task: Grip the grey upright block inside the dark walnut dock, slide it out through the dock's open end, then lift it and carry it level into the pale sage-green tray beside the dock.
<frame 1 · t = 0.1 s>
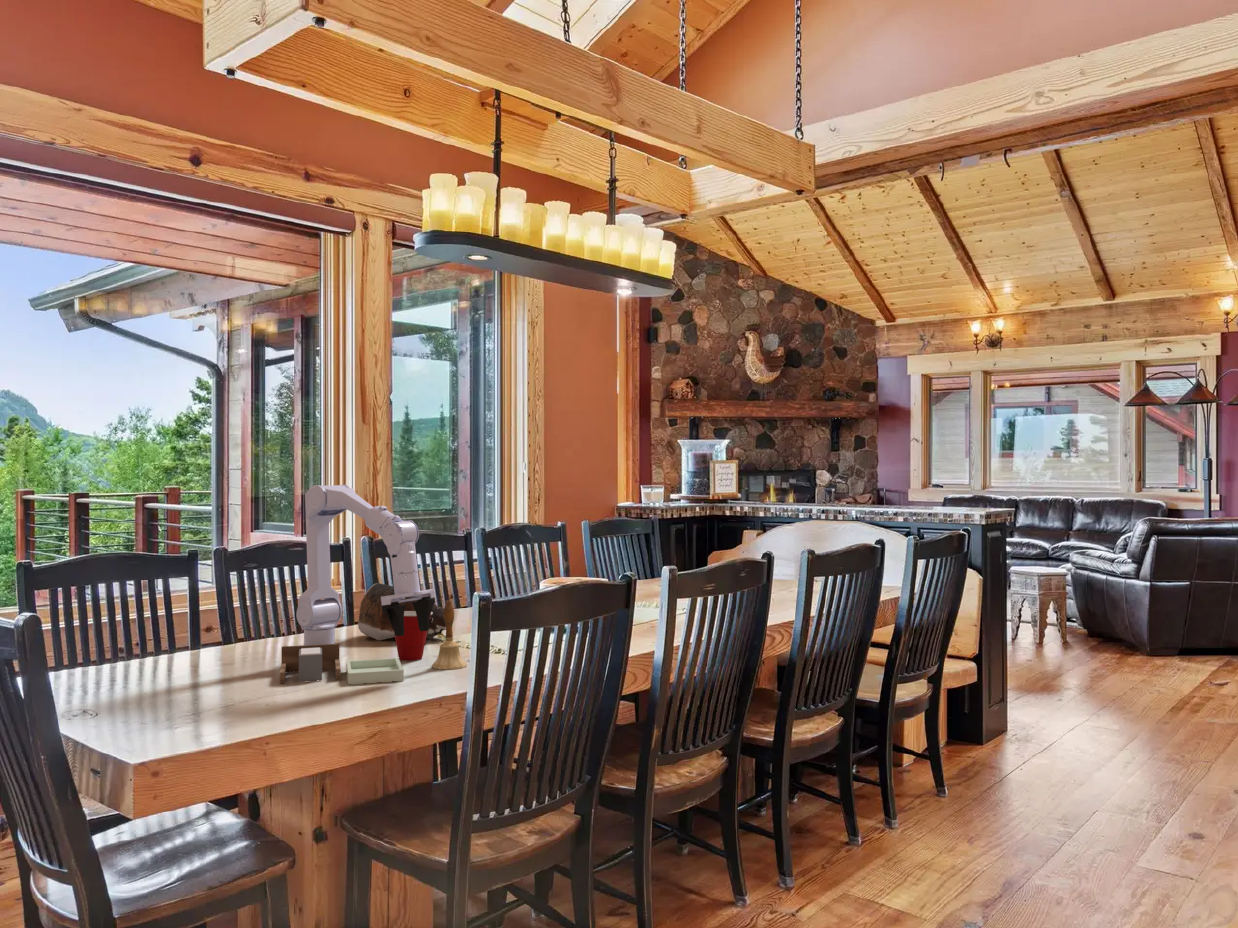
hand: (412, 633, 216), 11 cm above the table, tool pointing down, fingers open, 7 cm apart
clay pot: (408, 639, 267), on the table
plastic cup: (410, 659, 239), on the table
dock: (310, 676, 219), on the table
tray: (374, 676, 219), on the table
grey upright block: (310, 677, 218), on the table
hand bell: (449, 667, 230), on the table
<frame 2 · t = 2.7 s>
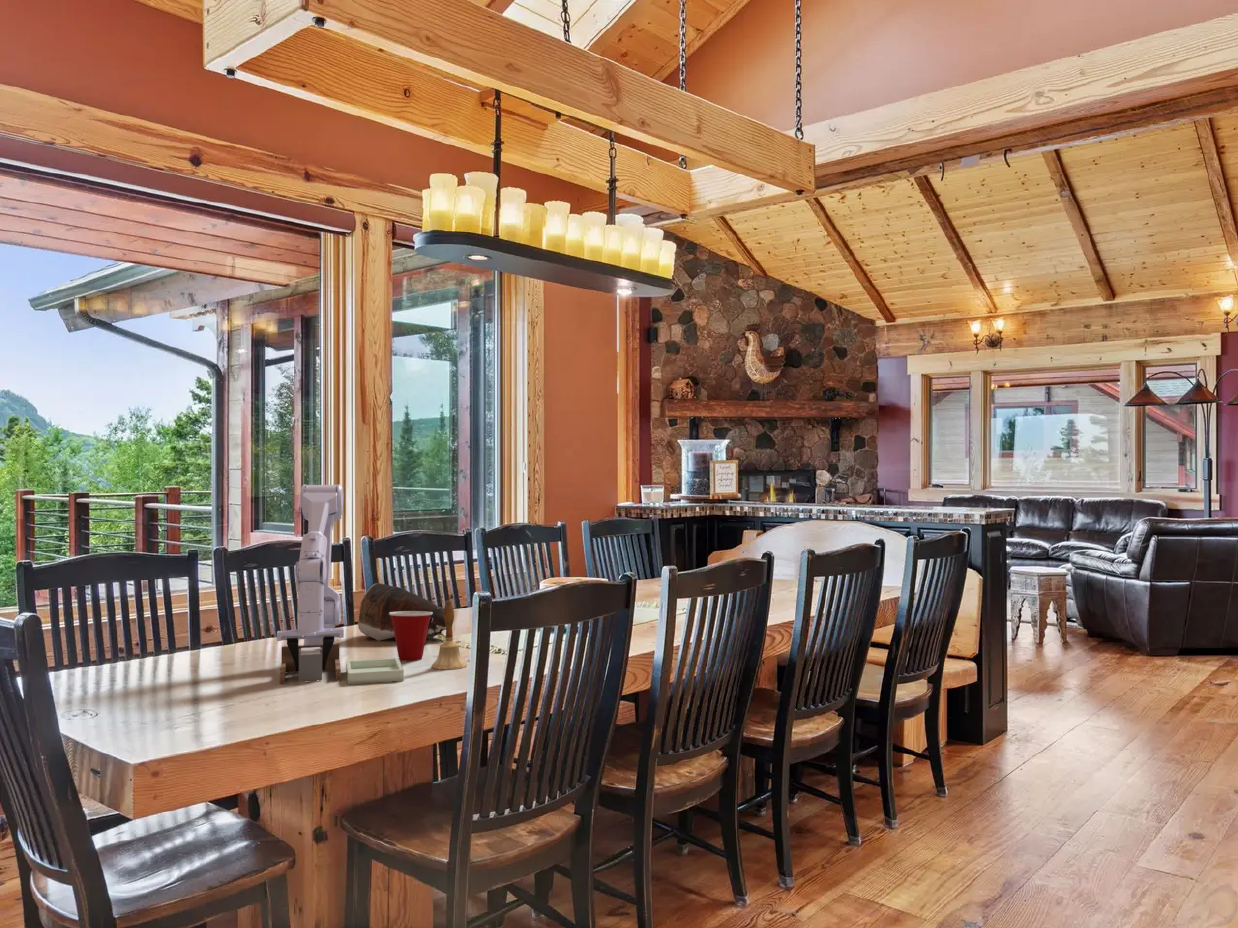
hand: (310, 670, 218), 2 cm above the table, tool pointing down, fingers closed on grey upright block, 5 cm apart
grey upright block: (310, 677, 218), on the table, touching gripper
everything else where it was.
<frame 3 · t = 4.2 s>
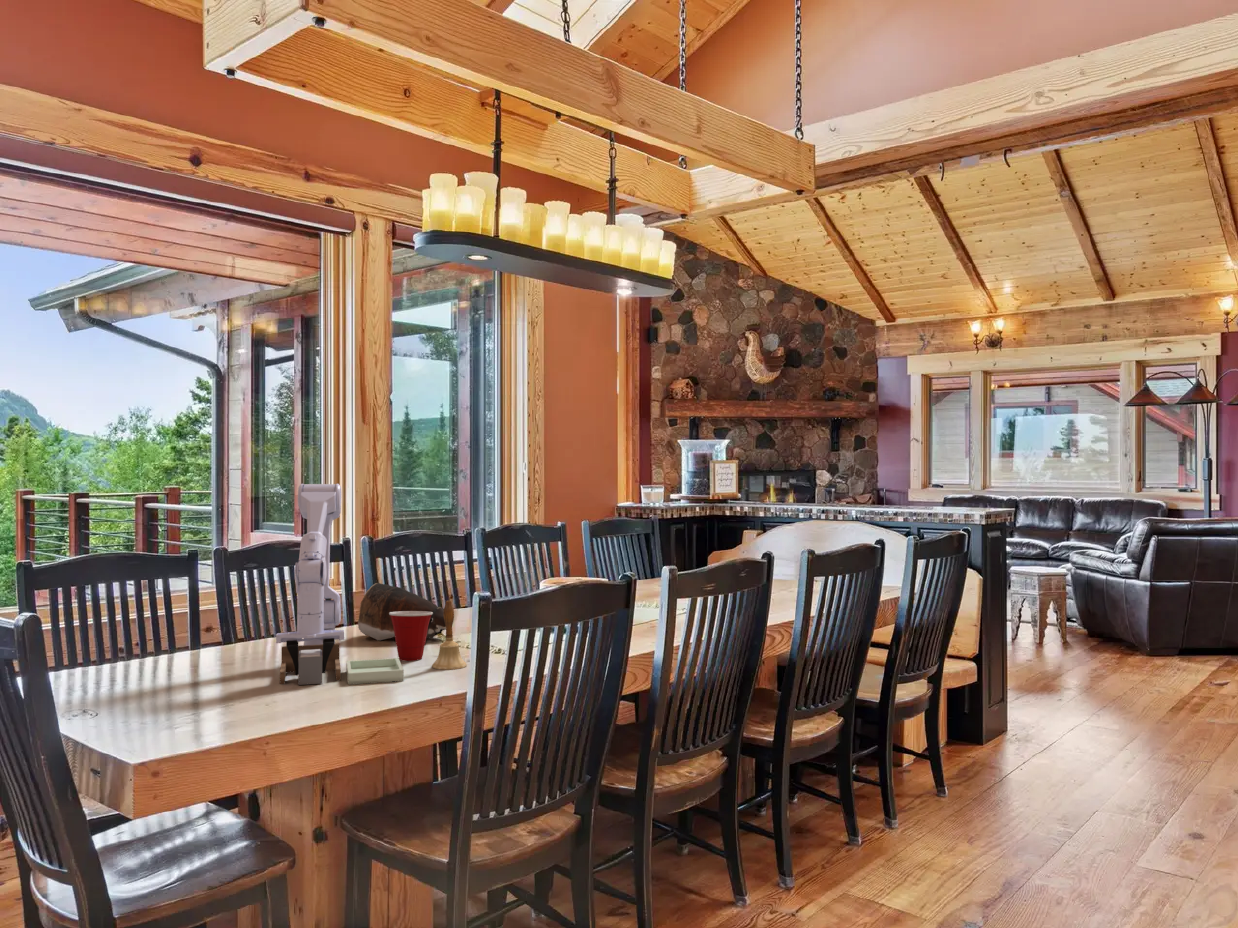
hand: (310, 673, 214), 2 cm above the table, tool pointing down, fingers closed on grey upright block, 5 cm apart
grey upright block: (310, 680, 214), on the table, touching gripper
everything else where it was.
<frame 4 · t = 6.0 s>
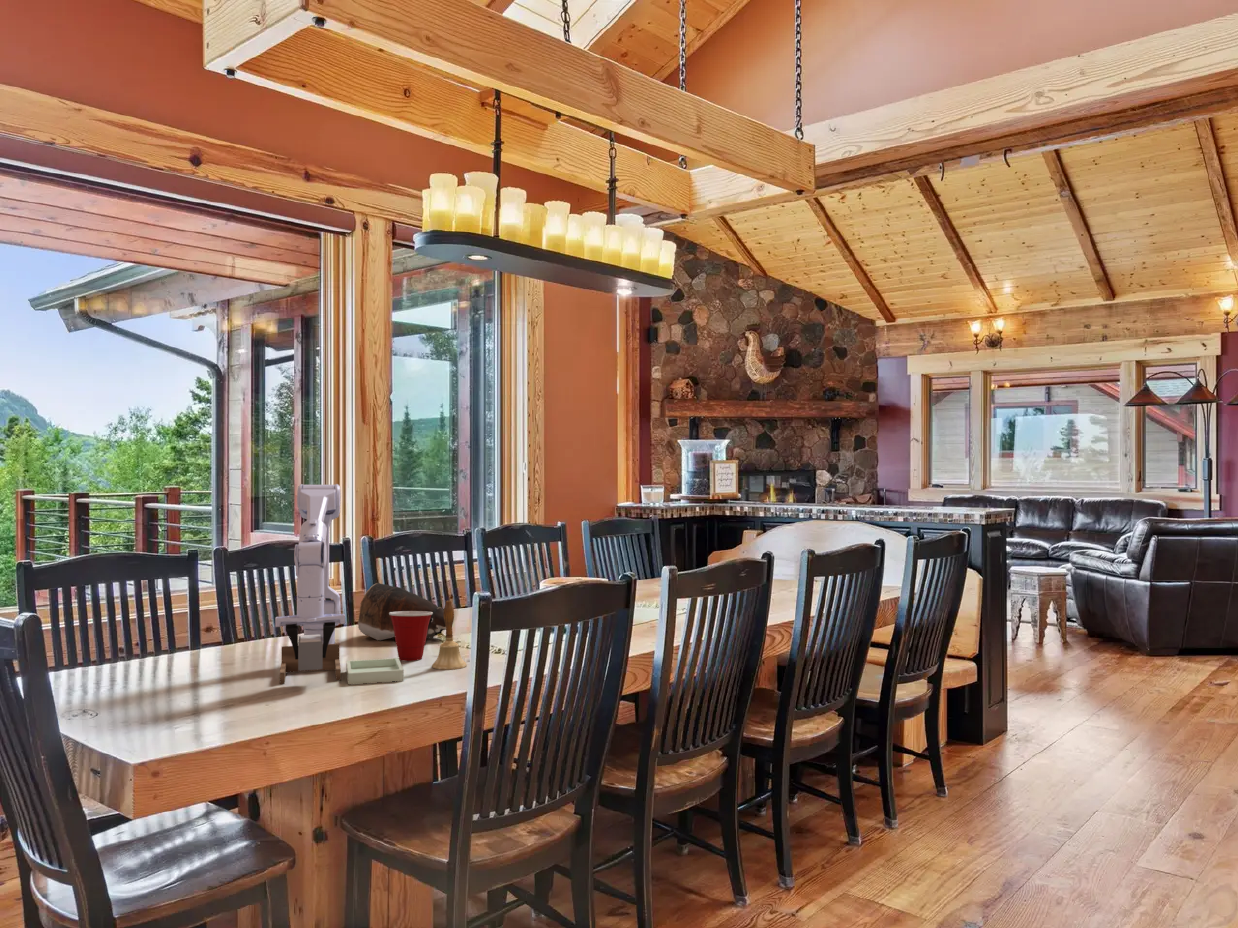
hand: (310, 657, 209), 6 cm above the table, tool pointing down, fingers closed on grey upright block, 5 cm apart
grey upright block: (310, 666, 209), point 4 cm above the table, touching gripper
everything else where it was.
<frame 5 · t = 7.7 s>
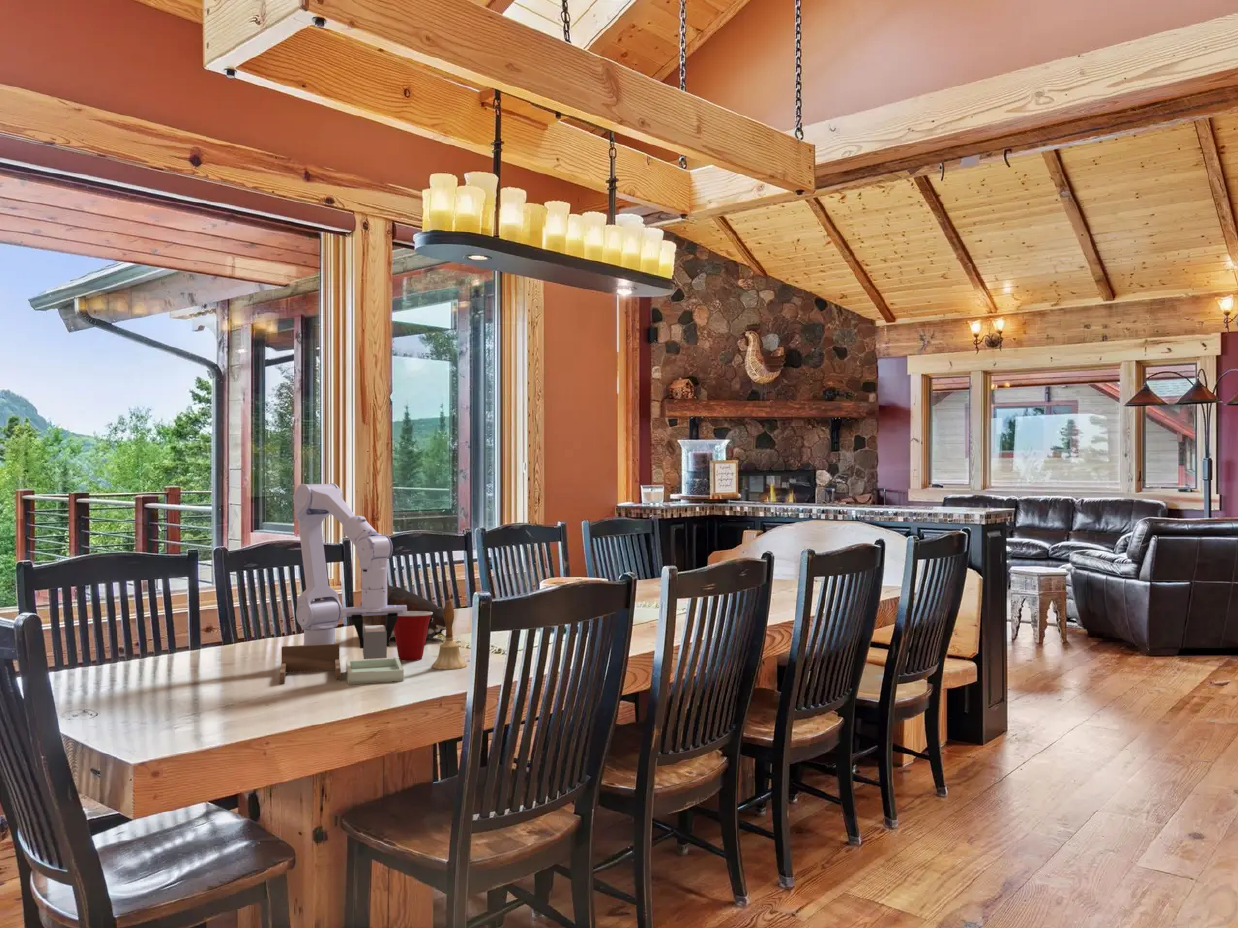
hand: (374, 646, 219), 7 cm above the table, tool pointing down, fingers closed on grey upright block, 5 cm apart
grey upright block: (374, 655, 219), point 5 cm above the table, touching gripper
everything else where it was.
when the fingers open (4 cm above the table, at t = 9.1 s): grey upright block drops 1 cm, resting on tray.
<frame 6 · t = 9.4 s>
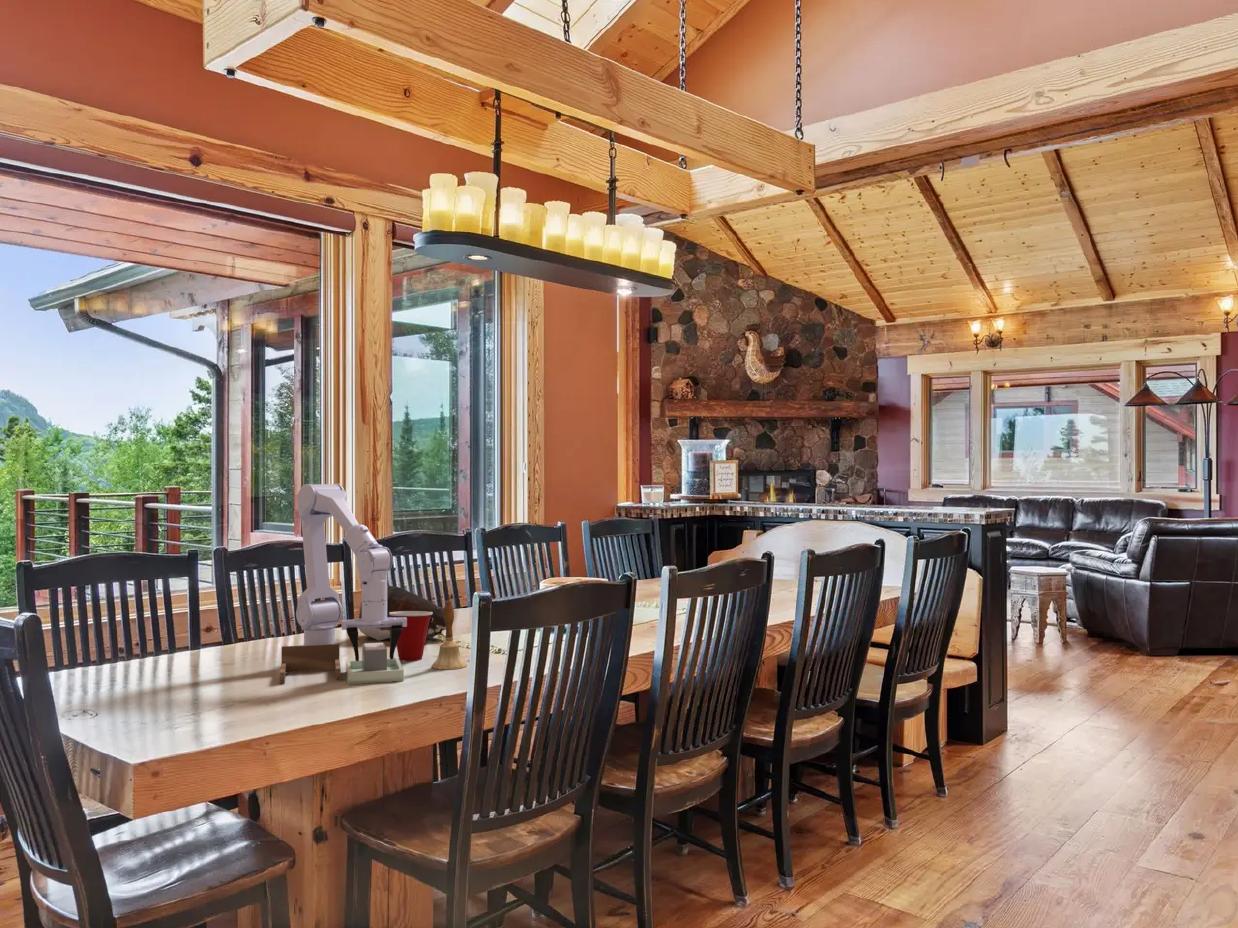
hand: (374, 659, 219), 4 cm above the table, tool pointing down, fingers open, 7 cm apart
grey upright block: (374, 672, 219), point 1 cm above the table, touching tray
everything else where it was.
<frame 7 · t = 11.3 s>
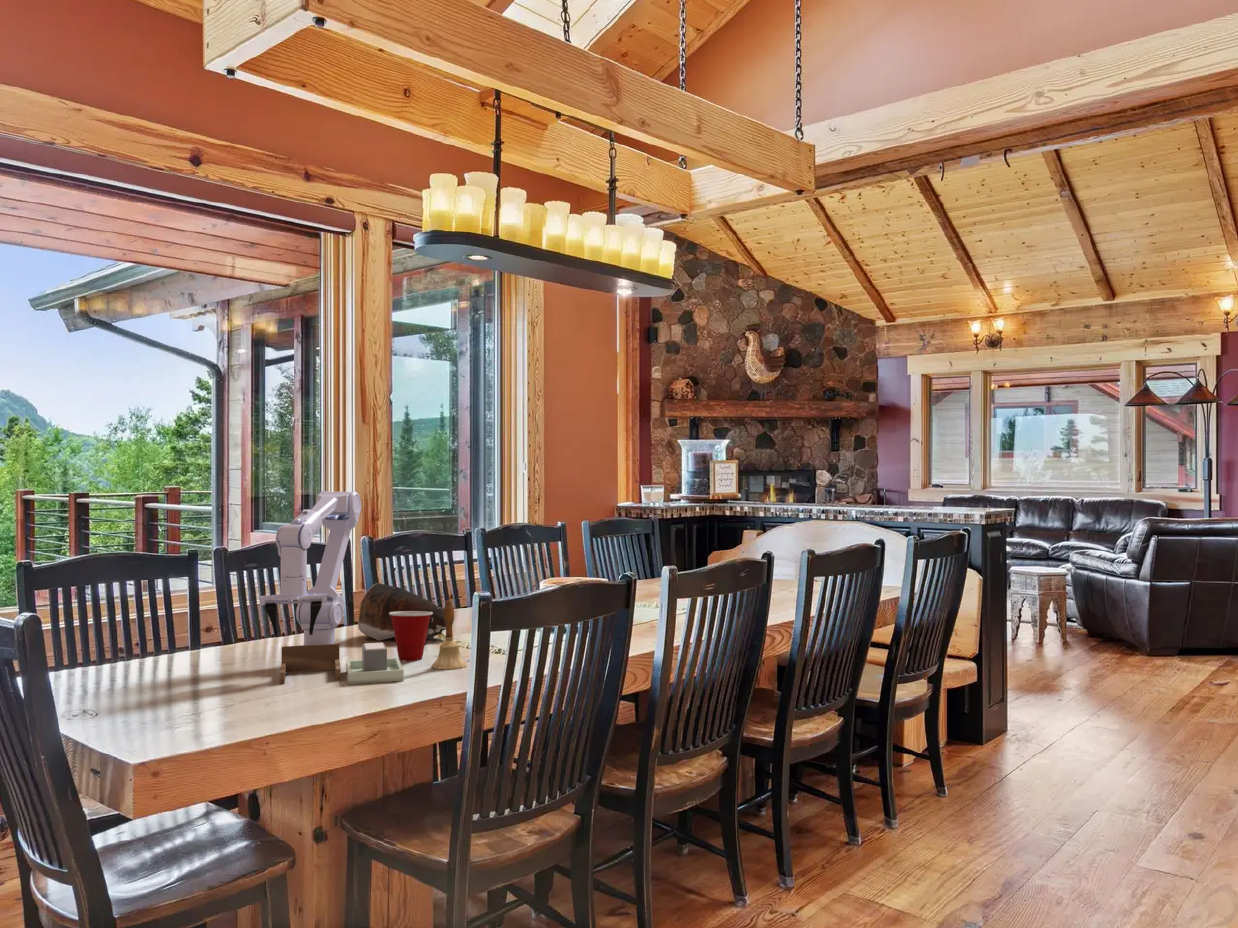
hand: (293, 635, 219), 9 cm above the table, tool pointing down, fingers open, 7 cm apart
nothing on the table moved.
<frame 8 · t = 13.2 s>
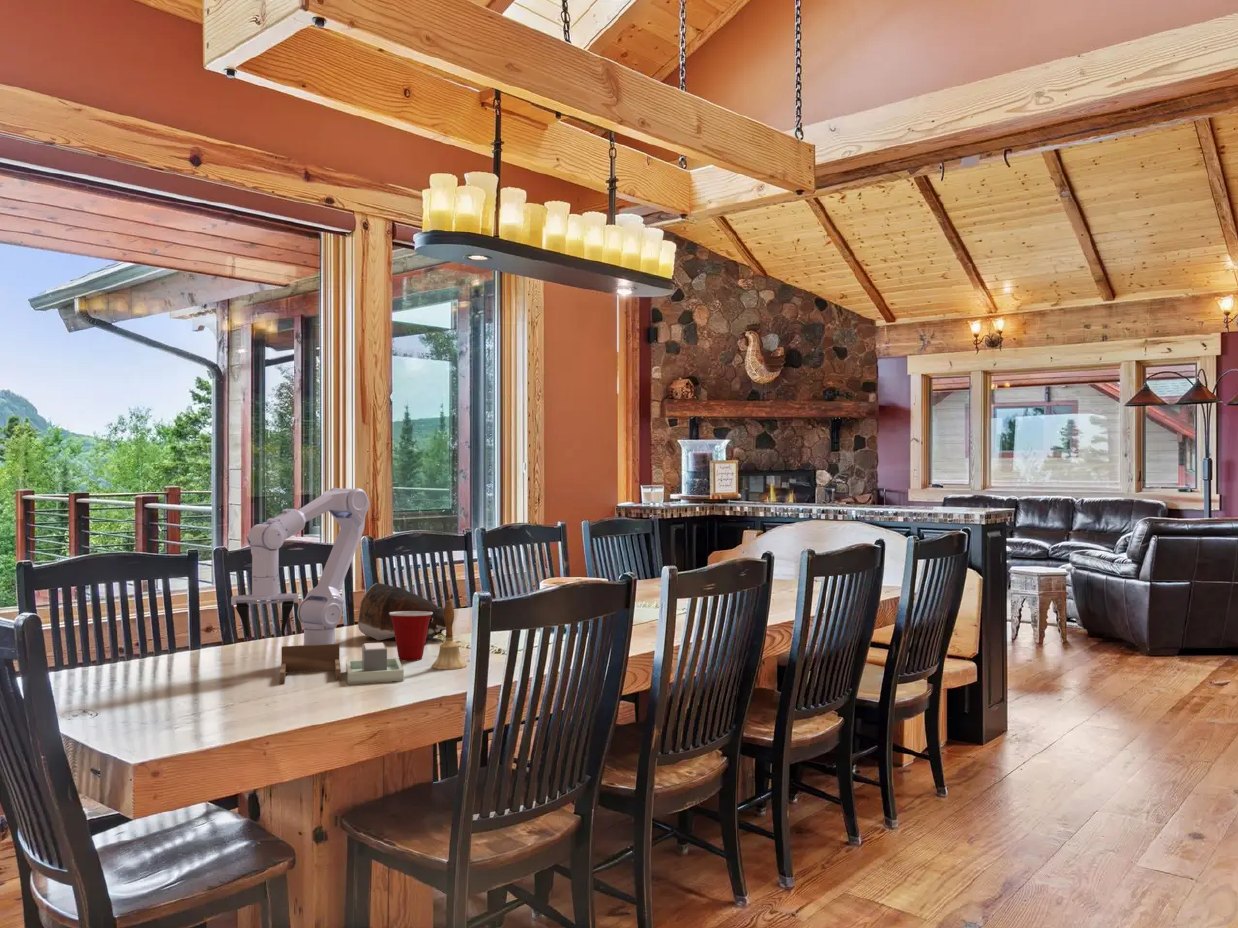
hand: (265, 634, 219), 9 cm above the table, tool pointing down, fingers open, 7 cm apart
nothing on the table moved.
at the end: grey upright block 0.2 cm off-centre on the tray, point 0.8 cm above the tray's base; grey upright block tilted 0°; the gripper is holding nothing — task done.
